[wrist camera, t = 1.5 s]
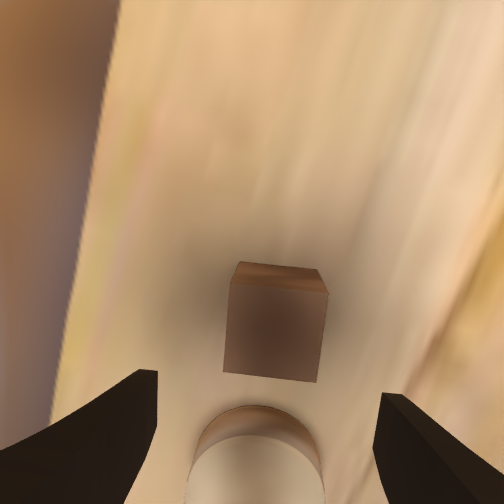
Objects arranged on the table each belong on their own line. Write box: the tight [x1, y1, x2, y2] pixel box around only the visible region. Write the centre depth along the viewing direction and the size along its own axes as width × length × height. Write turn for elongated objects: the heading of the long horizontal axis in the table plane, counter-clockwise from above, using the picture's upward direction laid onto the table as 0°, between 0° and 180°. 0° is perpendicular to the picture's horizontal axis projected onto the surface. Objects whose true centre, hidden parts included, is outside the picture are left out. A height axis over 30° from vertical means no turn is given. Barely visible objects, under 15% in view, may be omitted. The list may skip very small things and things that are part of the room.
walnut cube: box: [223, 262, 329, 383], centre depth 18 cm, size 4×4×4 cm
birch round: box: [184, 406, 326, 504], centre depth 21 cm, size 8×8×4 cm
